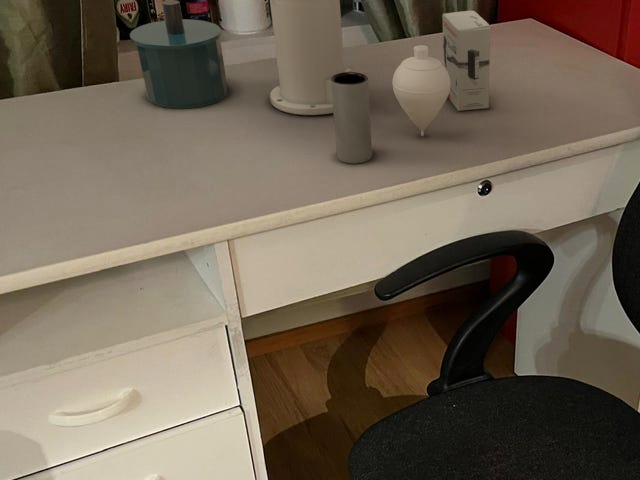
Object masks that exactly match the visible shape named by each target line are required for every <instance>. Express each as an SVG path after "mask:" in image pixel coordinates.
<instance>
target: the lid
mask: <svg viewBox="0 0 640 480" xmlns="http://www.w3.org/2000/svg"><path fill="white" fill-rule="evenodd" d="M161 8H162V13H163V18H164V20H159V21H153V22H150V23H149V22H148V23H146V24H142V25H140V26H138V27H136V28H134V29H132V30H131V31H130V33H129V39H130V41H131V42H132V43H133V44H134V45H135V46H136V45H138V46H141V47H144V48H150V49H159V50H177V49H187V48H194V47H199V46H203V45H206V44H209V43H212V42H214V41H216V40H217V39H219V38H220V39H221V36H222V29H221V27H220V26H219V25H218V24H216V23H213V22H210V21H206V20H201V19H187V18H185V19H184V18H183V15H182V10H181V4H180V1H179V0H163V1H162V2H161Z"/></svg>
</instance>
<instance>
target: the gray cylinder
mask: <svg viewBox="0 0 640 480" xmlns="http://www.w3.org/2000/svg"><path fill="white" fill-rule="evenodd" d="M369 87H370V86H369V77H368V76H367V75H366V74H364V73H361V72H356V71H351V72H344V73H339V74H336V75H334V76H332V78H331V88H332V101H333V113H332V114H333V121H334V122H333V123H334V136H335V147H336V149H335V150H336V158H337V159H338V160H339V161H340V162H342V163H345V164H353V165H354V164H361V163H365V162H368V161H370V160H371V159H372V157H373V147H372V146H373V145H372V126H371V125H372V124H371V108H370V106H371V105H370V89H369Z"/></svg>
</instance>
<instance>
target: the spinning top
mask: <svg viewBox="0 0 640 480" xmlns="http://www.w3.org/2000/svg"><path fill="white" fill-rule="evenodd" d="M413 55H414V56H410V57H408V58H405V59H404V60H402V61H401V63H400V64H399V65H398V66H397V68H396V69H395V71H394V74H393V75H392V90H393V93H394V95H395V98H396V99H397V101H398V103H399V105H400V107H401V108H402V110H403V111H404V112H405V114H406V115H407V117H408V118H409V119H410V120H411V122H412V123H413V124H414V125H415V126H416V127H417V128H418V129H419V130H420V136H421V137H424V136H425V130H426V129H427V128H428V127H429V125H431V124H432V122H433V121H434V119H436V117H437V115H438V114H439V113H440V111H441V110H442V108H443V107H444V105H445V103H446V101H447V99H448V95H449V92H450V85H451V82H450V77H449V74H448V72H447V70H446V69H445V67H444V66H443V63H441V61H440V60H439V59H437V58H434V57H432V56H429V47H428V46H427V45H423V44H421V45H420V44H419V45H415V46H414V47H413Z"/></svg>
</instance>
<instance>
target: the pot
mask: <svg viewBox="0 0 640 480" xmlns="http://www.w3.org/2000/svg"><path fill="white" fill-rule="evenodd" d="M135 46H136V50H137V51H136V52H137V55H138V60H139V64H140V69H141V73H142V78H143V83H144V84H143V85H144V87H145V92H146V97H147V100H148V101H149V102H150V103H151V104H152V105H155V106H158V107H159V108H167V109H176V110H177V109H178V110H180V109H181V110H182V109H194V108H202V107H207V106H209V105H213V104H216V103H218V102H220V101H222V100H223V99H224V98H226V96H227V95H228V82H227V76H226V75H227V74H226V70H225V68H226V67H225V63H224V56H223V50H222V43H221V37H220V38H219V39H217V40H216V41H214V42H212V43H209V44H206V45H203V46H199V47H194V48H187V49H177V50H159V49H150V48H144V47H141V46H138V45H136V44H135Z"/></svg>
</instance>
